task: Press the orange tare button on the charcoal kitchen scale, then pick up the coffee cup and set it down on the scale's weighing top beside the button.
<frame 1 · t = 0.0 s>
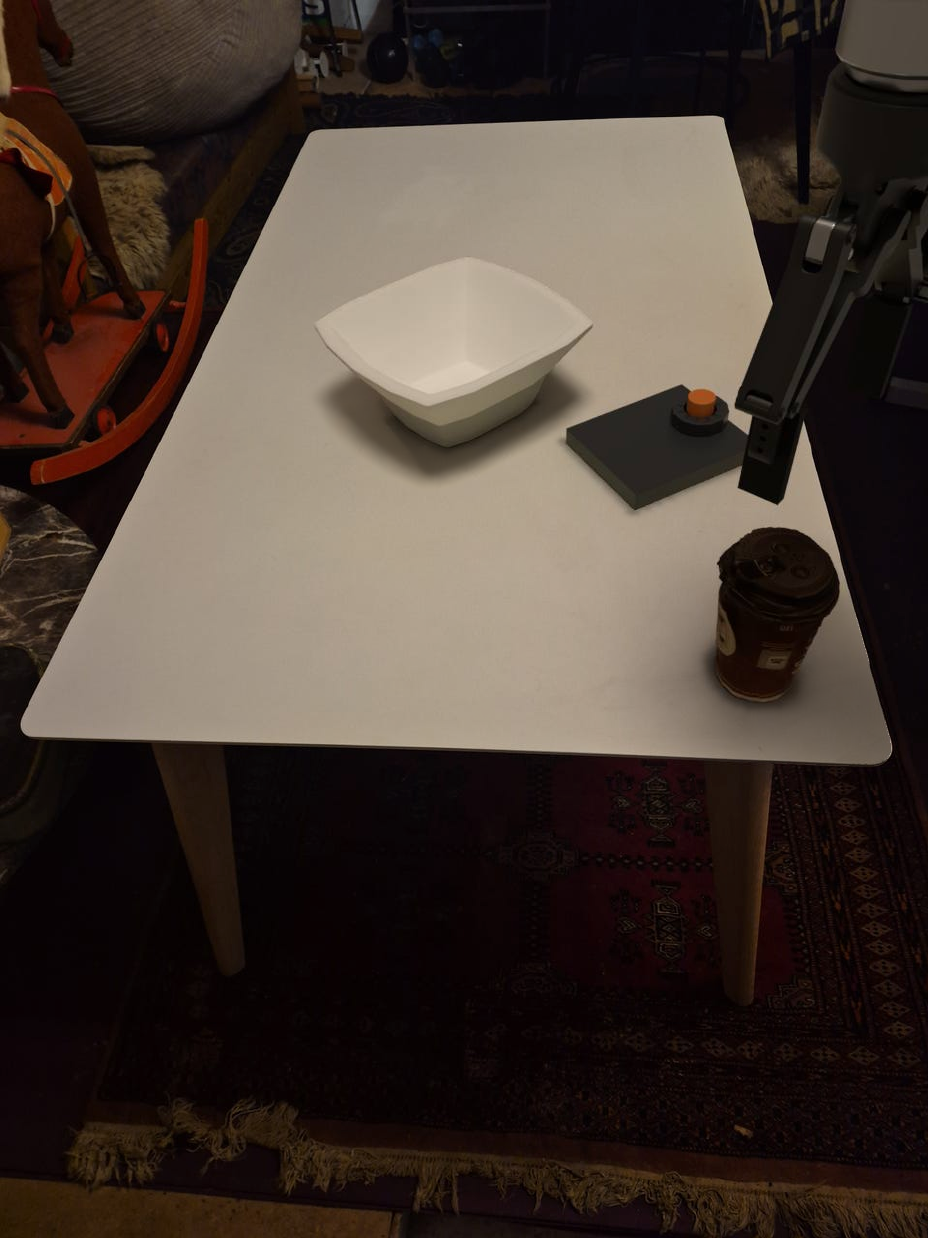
hand: (813, 439, 56), 22 cm above the table, tool pointing down, fingers open, 13 cm apart
scale: (659, 450, 91), on the table
coffee cup: (750, 672, 71), on the table
bowl: (458, 404, 100), on the table
tare button: (700, 403, 89), point 4 cm above the table, slide at 0.2 cm
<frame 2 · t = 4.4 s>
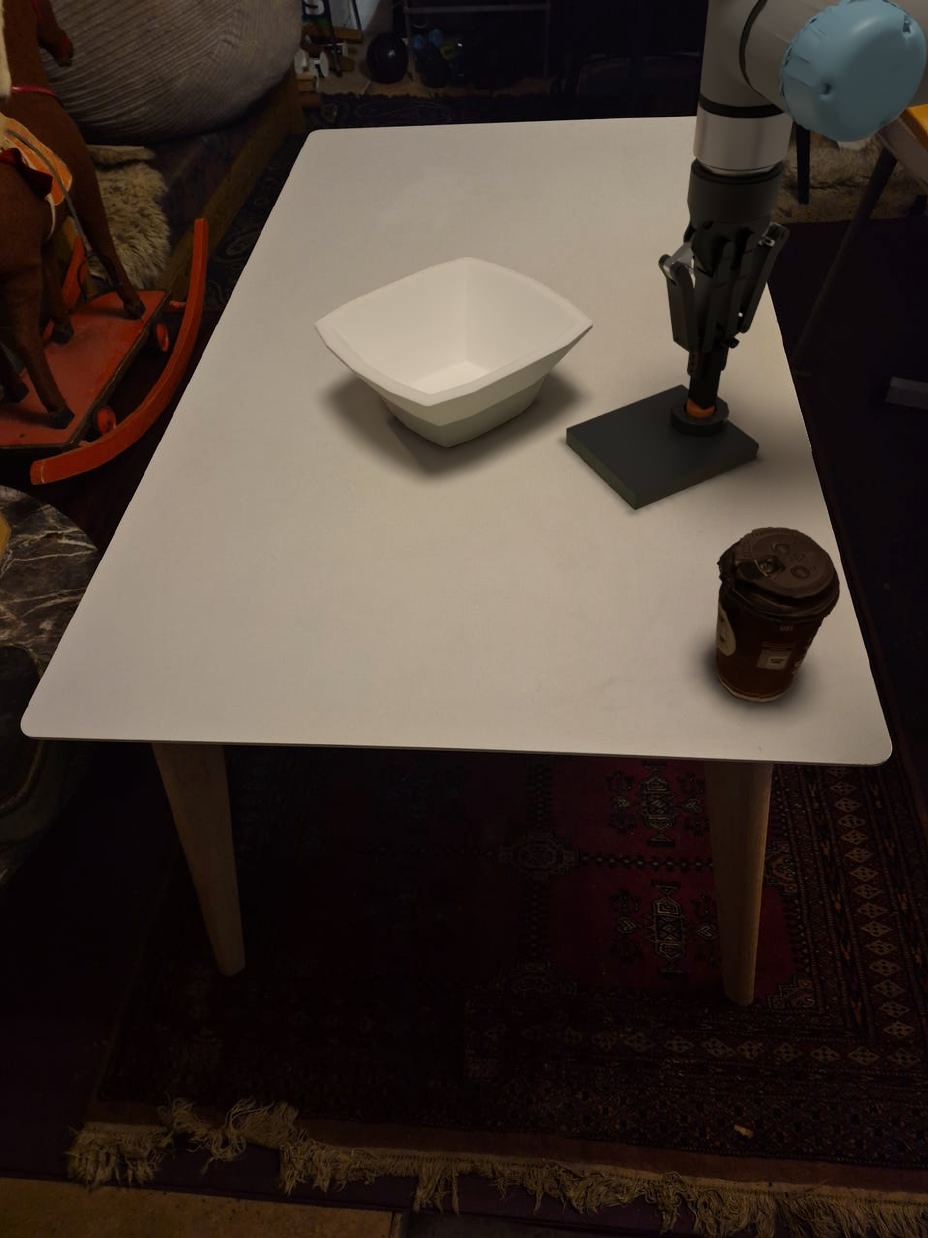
hand: (701, 400, 89), 4 cm above the table, tool pointing down, fingers closed
tare button: (699, 410, 89), point 3 cm above the table, slide at -0.7 cm, touching gripper
everything else where it was.
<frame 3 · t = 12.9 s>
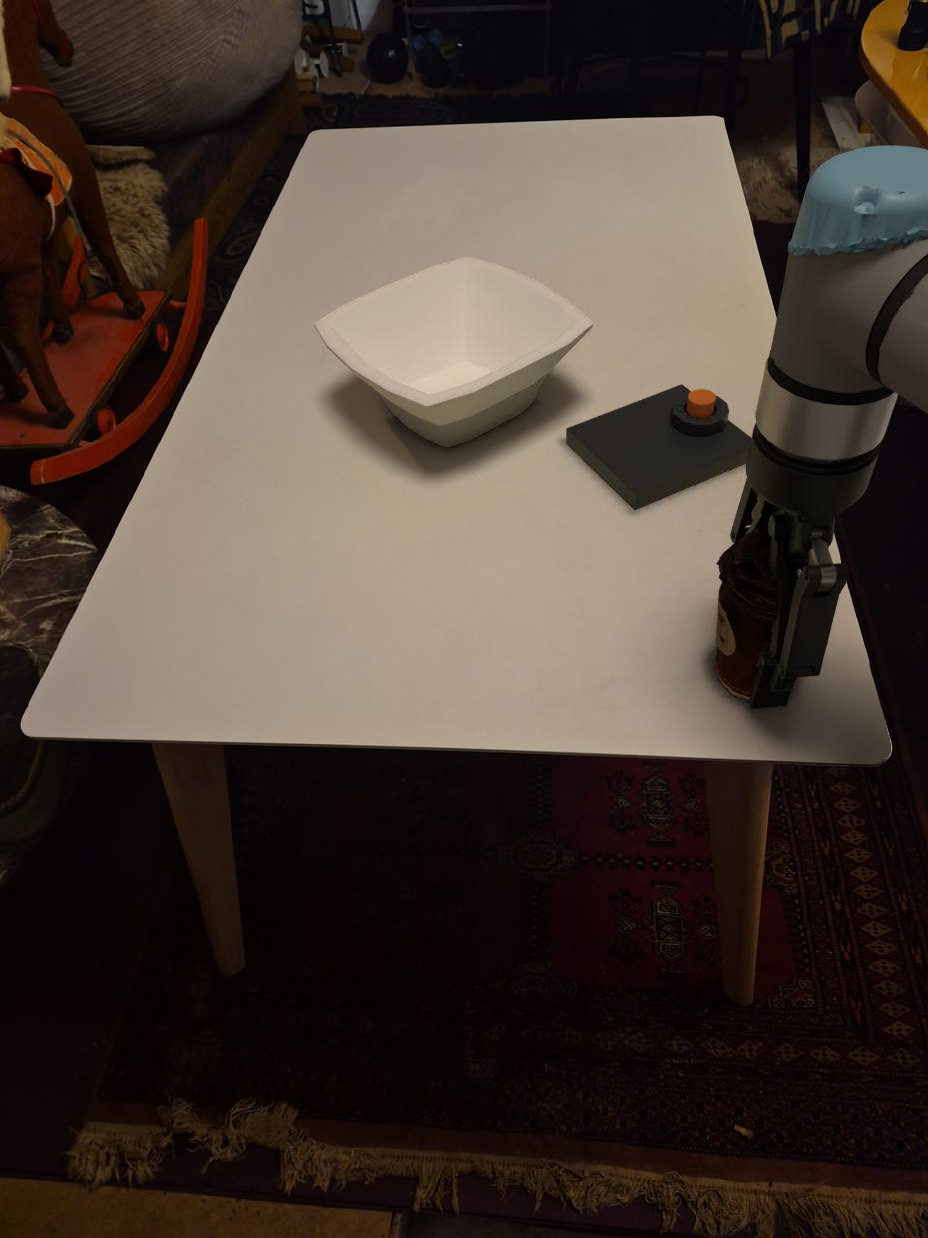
hand: (753, 662, 70), 1 cm above the table, tool pointing down, fingers closed on coffee cup, 8 cm apart
coffee cup: (750, 672, 71), on the table, touching gripper
tare button: (700, 403, 89), point 4 cm above the table, slide at 0.1 cm
everything else where it was.
when the fingers open (3 cm above the table, at t = 21.5 s): coffee cup stays where it is, resting on scale.
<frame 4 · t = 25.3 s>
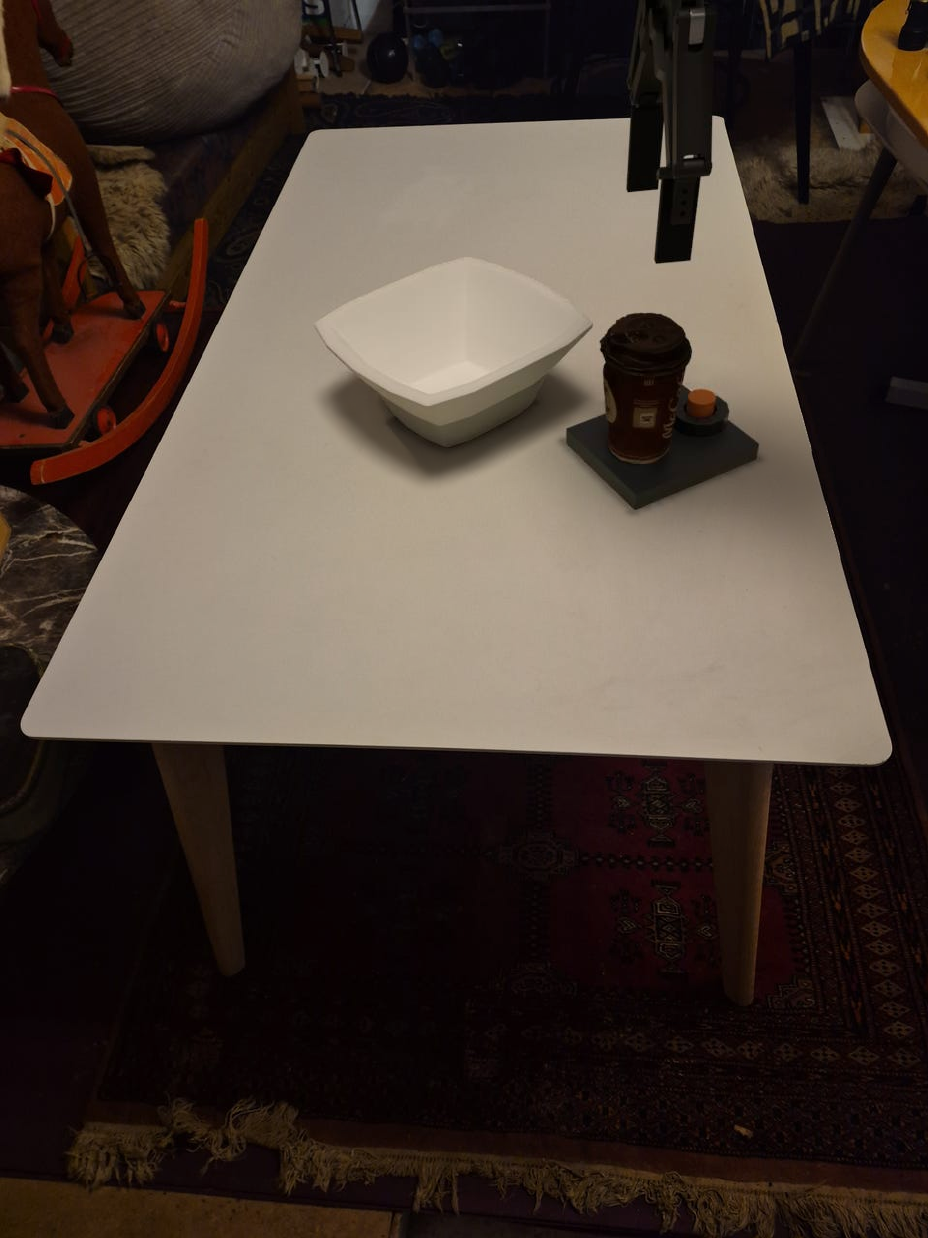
hand: (656, 222, 72), 25 cm above the table, tool pointing down, fingers open, 13 cm apart
coffee cup: (636, 446, 89), point 2 cm above the table, touching scale
everything else where it was.
at the end: tare button pushed in 0.8 cm at the most during the clip, back to where it started at the end; coffee cup inside the target area on the scale (3.0 cm from its centre), point 1.7 cm above the scale's base; coffee cup touching scale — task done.
